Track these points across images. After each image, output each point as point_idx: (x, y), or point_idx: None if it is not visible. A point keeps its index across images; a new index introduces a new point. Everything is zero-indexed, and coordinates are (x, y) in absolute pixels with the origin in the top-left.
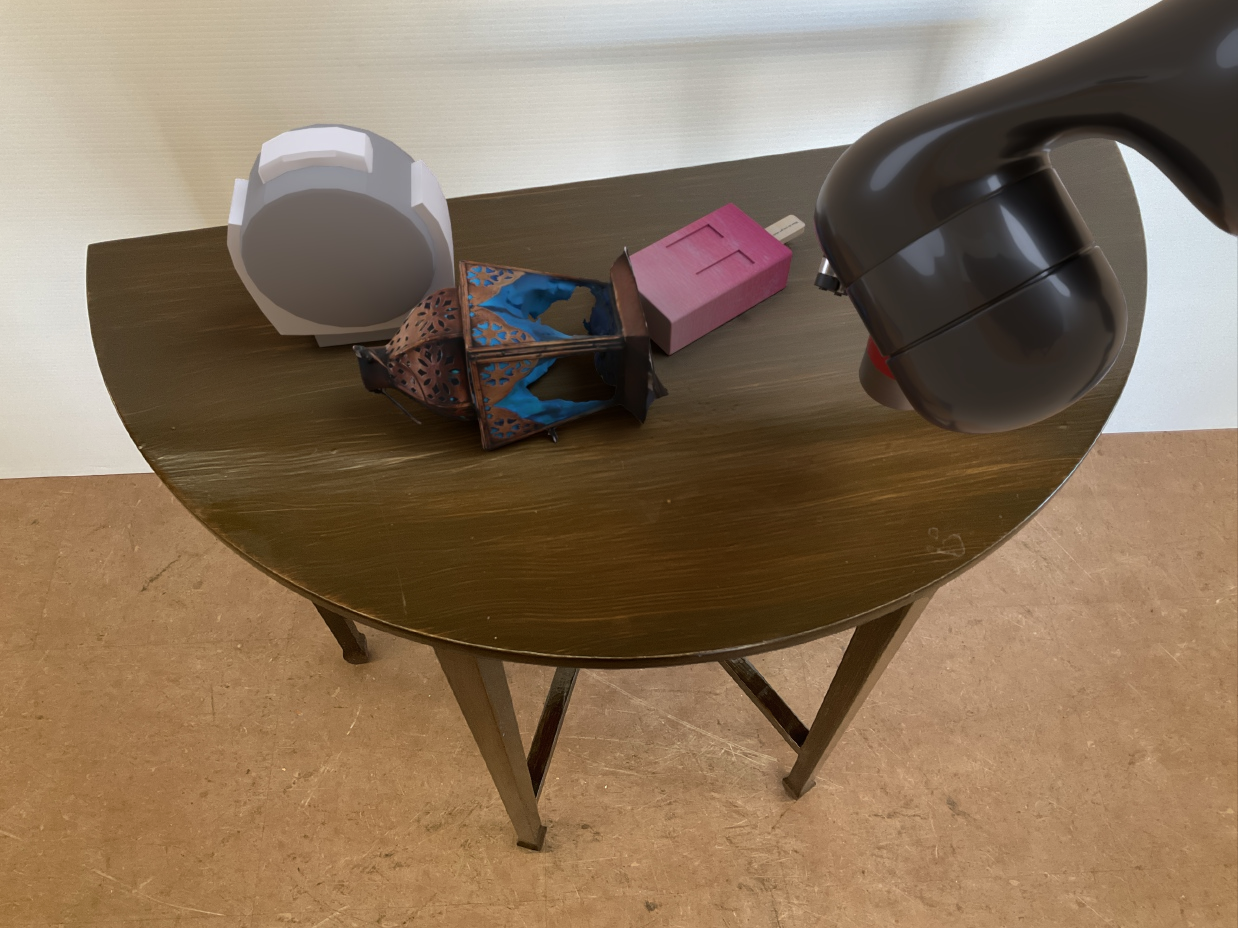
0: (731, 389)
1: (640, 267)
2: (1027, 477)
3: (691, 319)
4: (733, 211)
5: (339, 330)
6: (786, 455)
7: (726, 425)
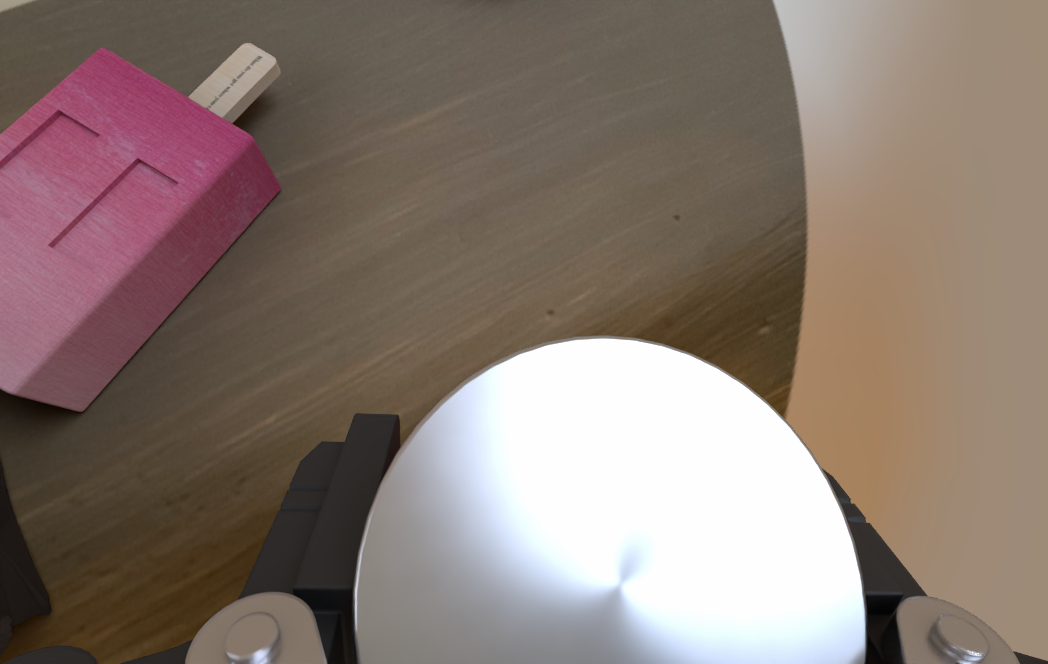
0: (226, 446)
1: None
2: None
3: (74, 353)
4: (110, 67)
5: None
6: None
7: (232, 535)
